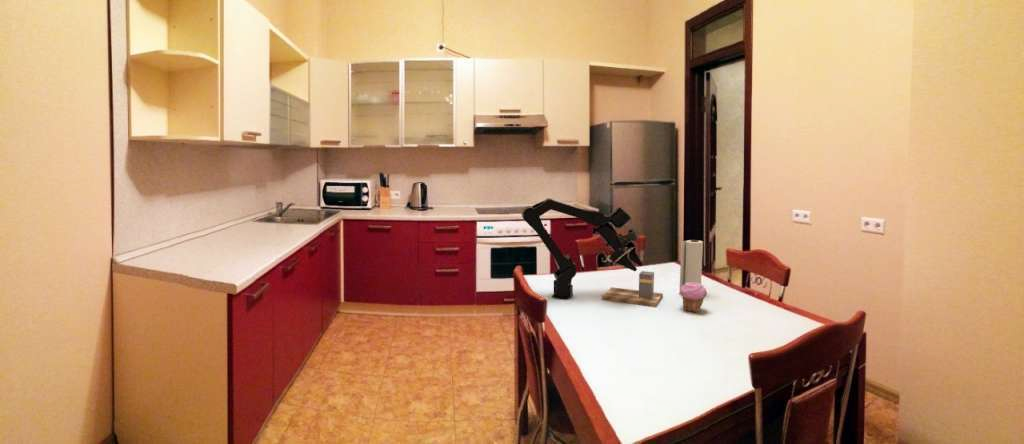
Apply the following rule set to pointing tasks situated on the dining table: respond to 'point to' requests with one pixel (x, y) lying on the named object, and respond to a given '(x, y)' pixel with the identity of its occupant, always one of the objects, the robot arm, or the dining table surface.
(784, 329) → the dining table surface
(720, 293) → the dining table surface
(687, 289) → the cupcake
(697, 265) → the paper towel roll
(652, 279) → the gift box with lid
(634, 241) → the robot arm
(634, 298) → the cardboard box
